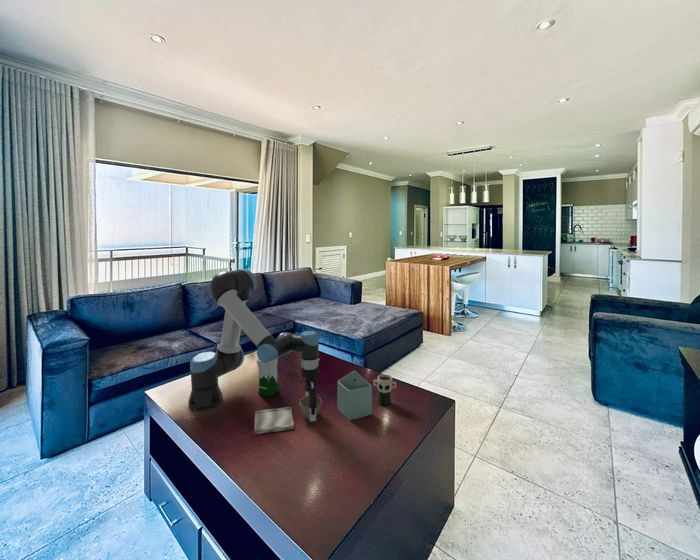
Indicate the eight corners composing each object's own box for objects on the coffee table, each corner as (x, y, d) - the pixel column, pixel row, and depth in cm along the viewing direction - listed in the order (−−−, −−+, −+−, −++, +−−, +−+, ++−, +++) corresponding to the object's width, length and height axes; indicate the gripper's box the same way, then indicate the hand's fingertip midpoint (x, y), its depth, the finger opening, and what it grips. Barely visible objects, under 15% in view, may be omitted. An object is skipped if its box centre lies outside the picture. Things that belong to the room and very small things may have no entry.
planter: (331, 417, 147) (331, 374, 144) (337, 408, 155) (337, 367, 152) (367, 423, 142) (368, 379, 139) (371, 414, 150) (372, 372, 147)
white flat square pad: (254, 434, 134) (254, 431, 134) (255, 413, 149) (255, 411, 149) (294, 428, 138) (294, 425, 138) (291, 409, 153) (291, 406, 153)
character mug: (371, 405, 157) (372, 379, 156) (374, 398, 164) (374, 373, 162) (395, 408, 155) (395, 381, 153) (396, 400, 162) (397, 375, 160)
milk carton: (280, 390, 172) (279, 353, 169) (270, 398, 164) (269, 359, 161) (266, 387, 175) (265, 350, 173) (255, 394, 167) (254, 356, 164)
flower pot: (318, 423, 142) (318, 408, 141) (296, 420, 144) (295, 405, 143) (324, 411, 152) (324, 396, 151) (303, 409, 154) (303, 394, 153)
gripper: (323, 377, 134) (323, 426, 136) (314, 356, 157) (314, 398, 160) (304, 379, 132) (305, 429, 135) (298, 357, 156) (299, 399, 158)
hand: (310, 412), depth 147 cm, fingers open, 13 cm apart
